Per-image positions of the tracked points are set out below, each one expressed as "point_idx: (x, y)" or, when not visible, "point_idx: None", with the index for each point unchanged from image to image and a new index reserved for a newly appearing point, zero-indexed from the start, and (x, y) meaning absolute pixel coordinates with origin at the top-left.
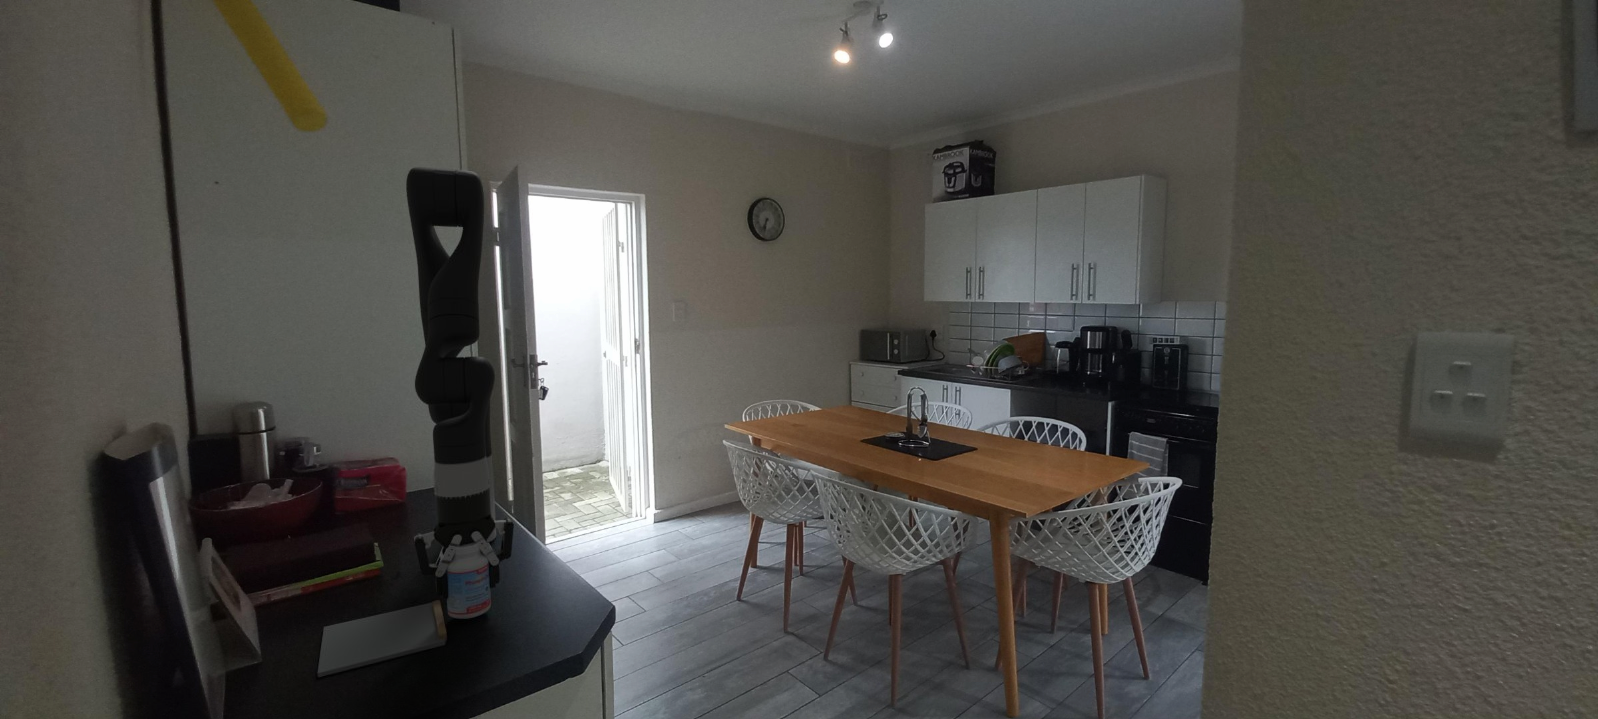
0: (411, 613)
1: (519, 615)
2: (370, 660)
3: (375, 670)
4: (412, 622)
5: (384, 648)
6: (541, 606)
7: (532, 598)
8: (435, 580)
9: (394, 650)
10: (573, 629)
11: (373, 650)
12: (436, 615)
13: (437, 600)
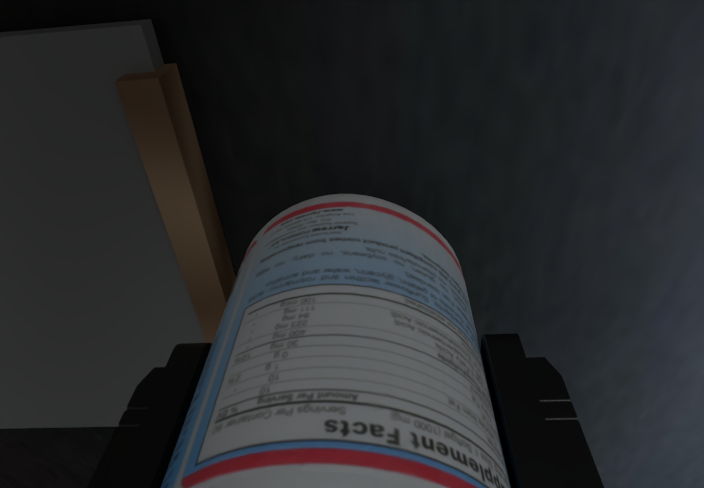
0: (27, 135)
1: (563, 336)
2: (34, 427)
3: (75, 444)
4: (78, 241)
5: (47, 386)
6: (687, 304)
7: (699, 204)
8: (105, 453)
9: (93, 409)
10: (682, 483)
11: (11, 386)
12: (188, 274)
13: (144, 78)
